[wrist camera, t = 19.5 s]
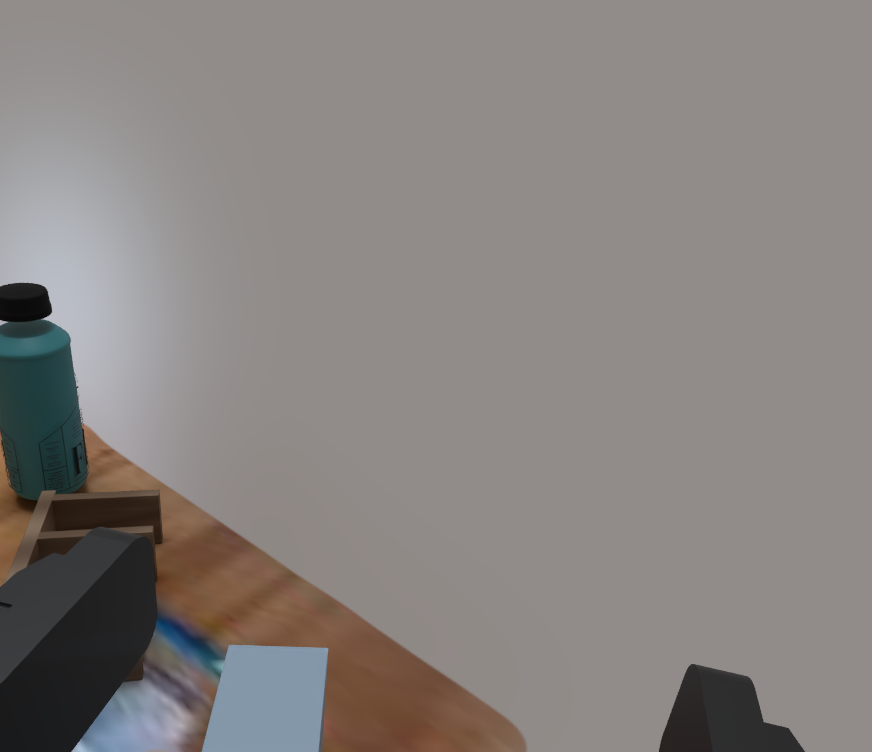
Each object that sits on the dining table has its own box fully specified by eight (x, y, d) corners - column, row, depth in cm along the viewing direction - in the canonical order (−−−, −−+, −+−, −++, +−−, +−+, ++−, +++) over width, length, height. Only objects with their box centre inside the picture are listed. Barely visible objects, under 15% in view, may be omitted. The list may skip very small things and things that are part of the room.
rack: (142, 679, 49) (136, 625, 47) (-6, 695, 47) (-19, 639, 45) (163, 532, 63) (160, 485, 61) (49, 539, 60) (42, 490, 58)
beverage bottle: (89, 511, 64) (64, 301, 56) (4, 520, 62) (-36, 303, 53) (93, 470, 70) (70, 274, 61) (15, 478, 67) (-20, 275, 59)
